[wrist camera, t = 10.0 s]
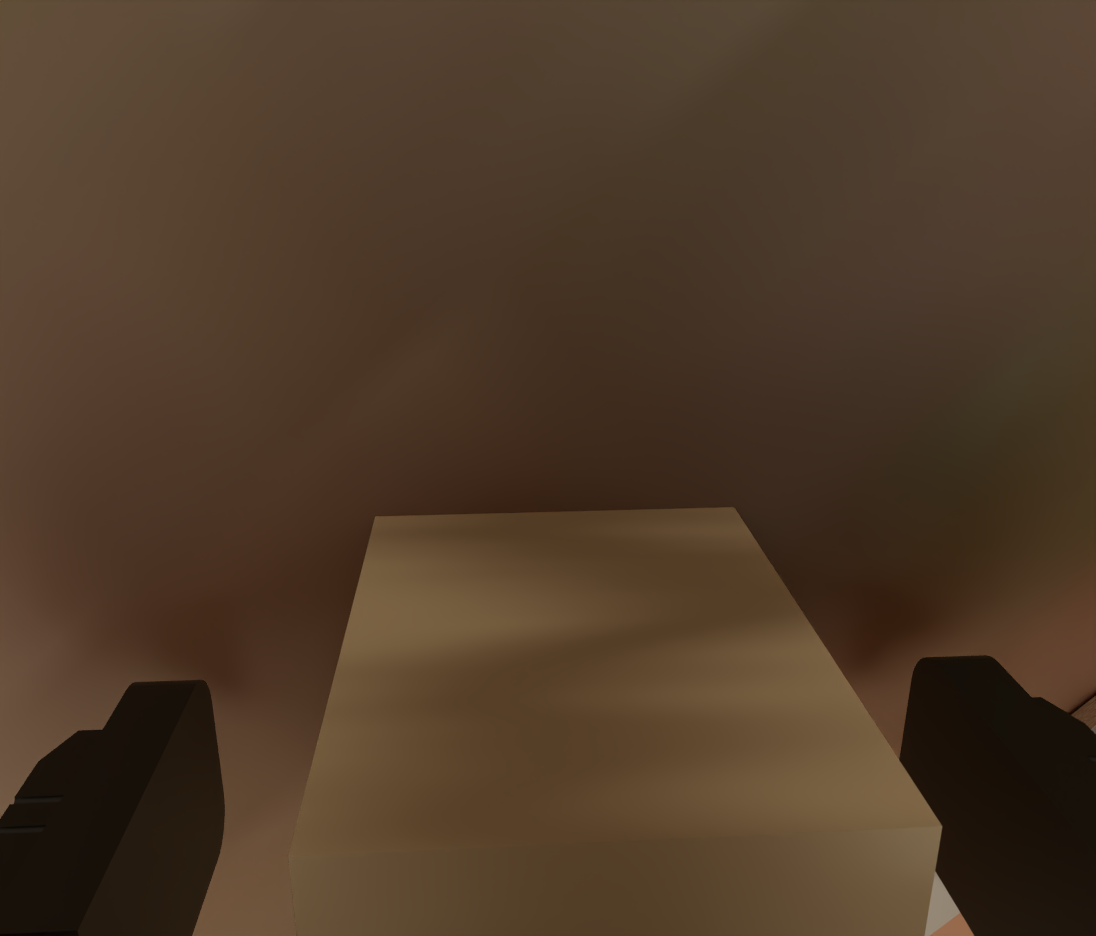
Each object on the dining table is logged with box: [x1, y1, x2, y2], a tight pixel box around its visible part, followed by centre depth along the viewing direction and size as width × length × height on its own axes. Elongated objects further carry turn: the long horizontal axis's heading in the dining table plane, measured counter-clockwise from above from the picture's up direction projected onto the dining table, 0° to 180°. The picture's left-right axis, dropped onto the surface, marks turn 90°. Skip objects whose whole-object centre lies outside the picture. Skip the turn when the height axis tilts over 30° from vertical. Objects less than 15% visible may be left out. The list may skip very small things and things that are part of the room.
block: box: [288, 507, 942, 936], centre depth 10 cm, size 4×4×6 cm
